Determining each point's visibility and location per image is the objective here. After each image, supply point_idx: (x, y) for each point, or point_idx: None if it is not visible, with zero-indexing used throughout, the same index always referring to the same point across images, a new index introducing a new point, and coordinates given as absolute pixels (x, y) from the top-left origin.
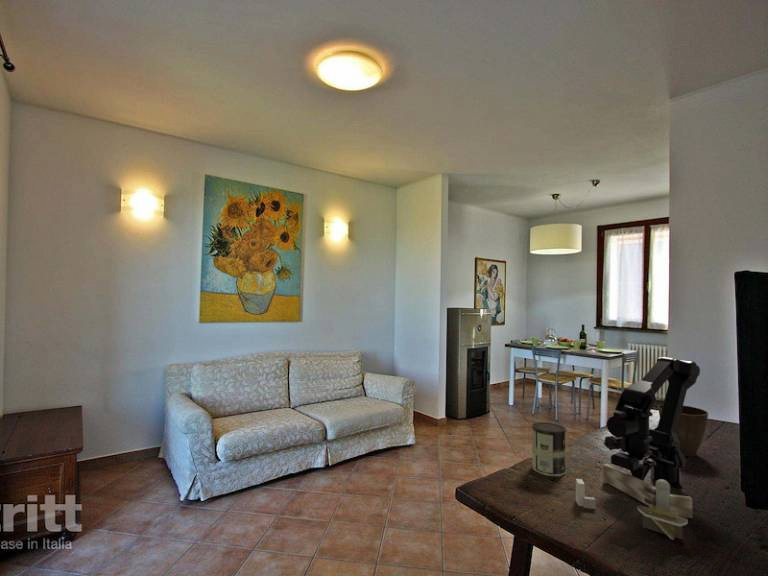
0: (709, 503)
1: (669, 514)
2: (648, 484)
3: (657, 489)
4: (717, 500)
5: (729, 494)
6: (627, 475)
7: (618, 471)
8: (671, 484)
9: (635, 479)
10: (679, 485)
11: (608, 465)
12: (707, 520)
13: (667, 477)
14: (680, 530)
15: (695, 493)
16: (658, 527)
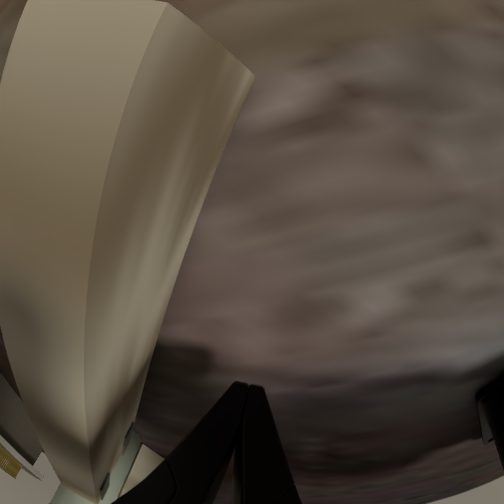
0: (373, 495)
1: (14, 457)
2: (86, 491)
3: (52, 498)
4: (416, 493)
5: (478, 482)
6: (47, 428)
7: (16, 355)
8: (487, 426)
9: (59, 459)
10: (487, 440)
11: (49, 97)
12: (217, 496)
13: (499, 447)
14: (38, 448)
15: (446, 466)
16: (13, 408)
